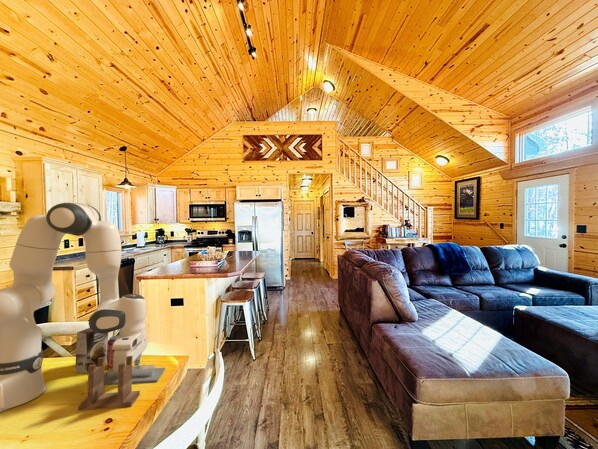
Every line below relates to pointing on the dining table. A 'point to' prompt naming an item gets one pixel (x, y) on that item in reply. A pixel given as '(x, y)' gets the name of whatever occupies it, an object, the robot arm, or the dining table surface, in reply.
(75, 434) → the dining table surface
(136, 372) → the beige wooden bar
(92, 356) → the coffee box
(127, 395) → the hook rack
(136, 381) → the rubber mat
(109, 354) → the beverage can
